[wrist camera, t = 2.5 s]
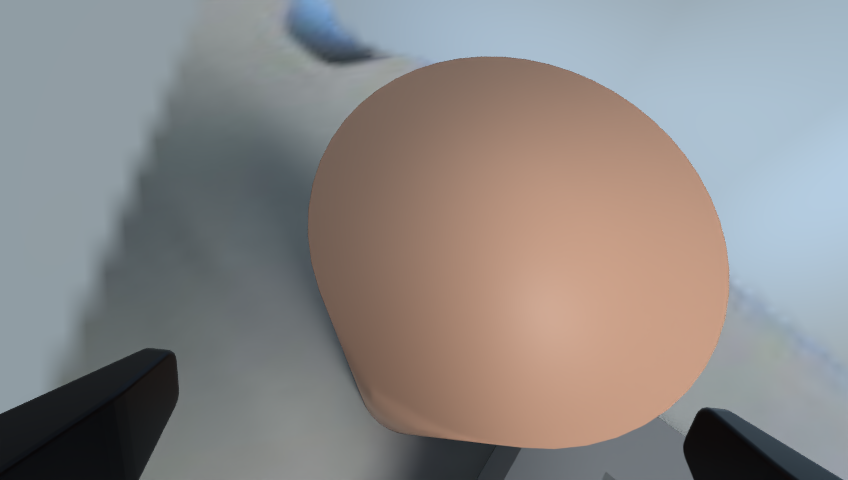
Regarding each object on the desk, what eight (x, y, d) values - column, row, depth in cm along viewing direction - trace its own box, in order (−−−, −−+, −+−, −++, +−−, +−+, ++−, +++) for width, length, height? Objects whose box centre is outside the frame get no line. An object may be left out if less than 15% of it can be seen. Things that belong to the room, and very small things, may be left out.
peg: (422, 458, 16) (622, 575, 3) (337, 389, 16) (207, 244, 4) (481, 367, 17) (779, 190, 5) (401, 307, 18) (467, 4, 5)
